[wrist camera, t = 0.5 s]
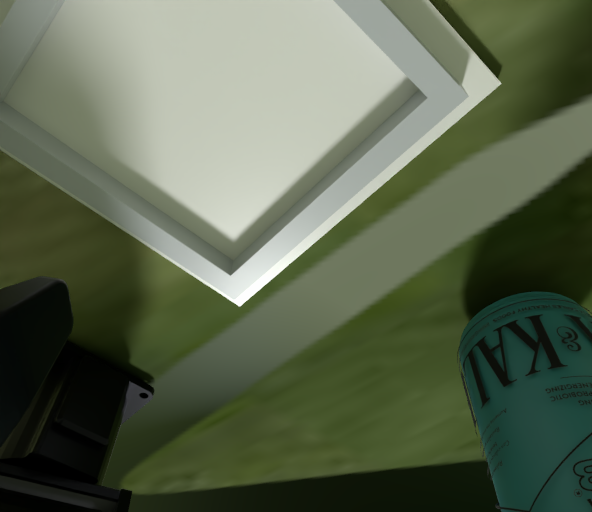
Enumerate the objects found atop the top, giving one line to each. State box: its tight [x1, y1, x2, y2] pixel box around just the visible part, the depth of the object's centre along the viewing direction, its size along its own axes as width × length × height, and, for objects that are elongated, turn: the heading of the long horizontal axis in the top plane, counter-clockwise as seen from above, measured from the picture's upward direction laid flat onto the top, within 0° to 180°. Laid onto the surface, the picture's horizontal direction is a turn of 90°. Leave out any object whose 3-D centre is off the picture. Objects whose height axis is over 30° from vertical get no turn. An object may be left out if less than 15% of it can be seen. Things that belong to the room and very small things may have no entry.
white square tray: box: [0, 0, 501, 306], centre depth 20 cm, size 15×15×2 cm
